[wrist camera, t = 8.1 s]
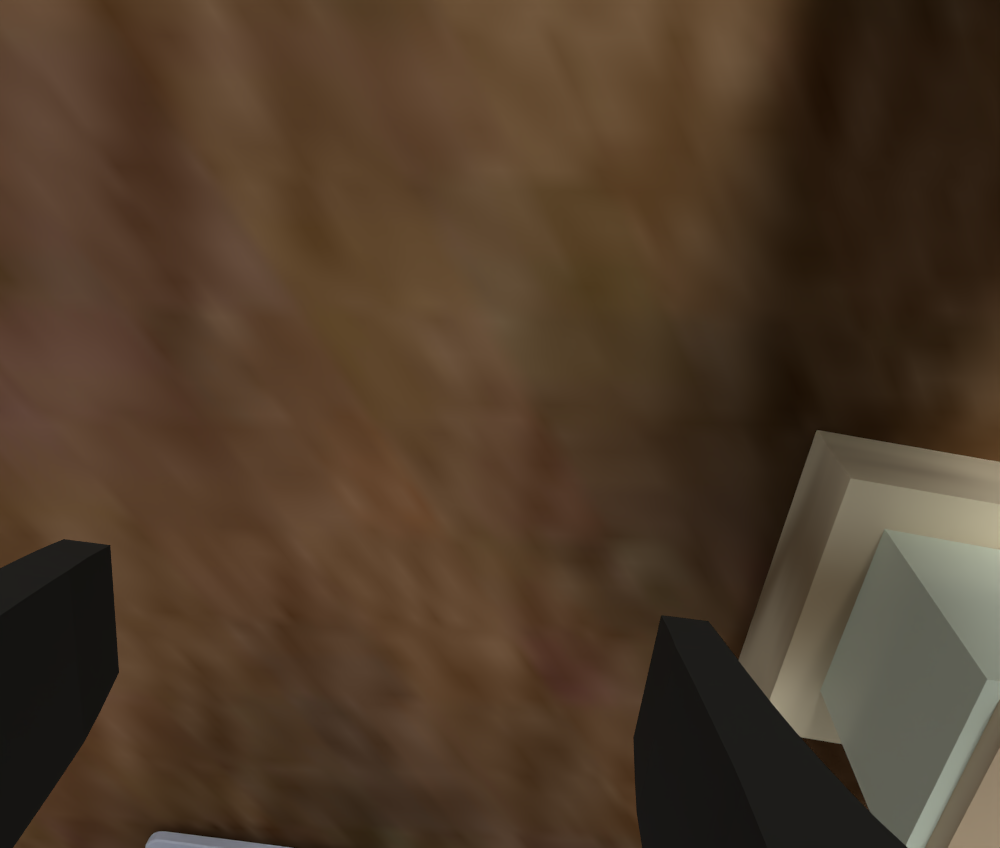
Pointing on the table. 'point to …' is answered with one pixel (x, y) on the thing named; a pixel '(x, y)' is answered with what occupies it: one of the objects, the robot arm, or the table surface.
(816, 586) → the base block
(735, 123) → the table surface
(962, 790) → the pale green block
